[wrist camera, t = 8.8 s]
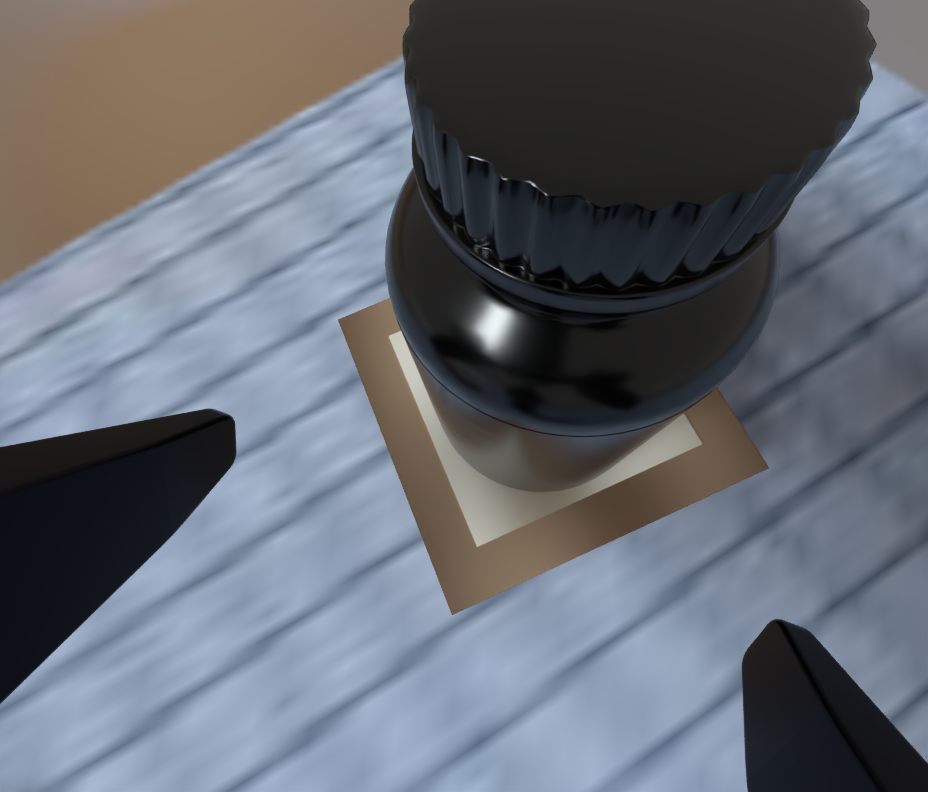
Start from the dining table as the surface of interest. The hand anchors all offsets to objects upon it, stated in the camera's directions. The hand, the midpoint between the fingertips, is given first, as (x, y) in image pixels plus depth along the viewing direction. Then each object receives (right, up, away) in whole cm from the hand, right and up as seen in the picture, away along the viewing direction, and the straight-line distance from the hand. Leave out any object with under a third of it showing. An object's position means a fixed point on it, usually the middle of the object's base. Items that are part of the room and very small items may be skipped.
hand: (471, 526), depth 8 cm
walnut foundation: (+3, +1, +12) cm, 12 cm away
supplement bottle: (+2, +2, +9) cm, 9 cm away
